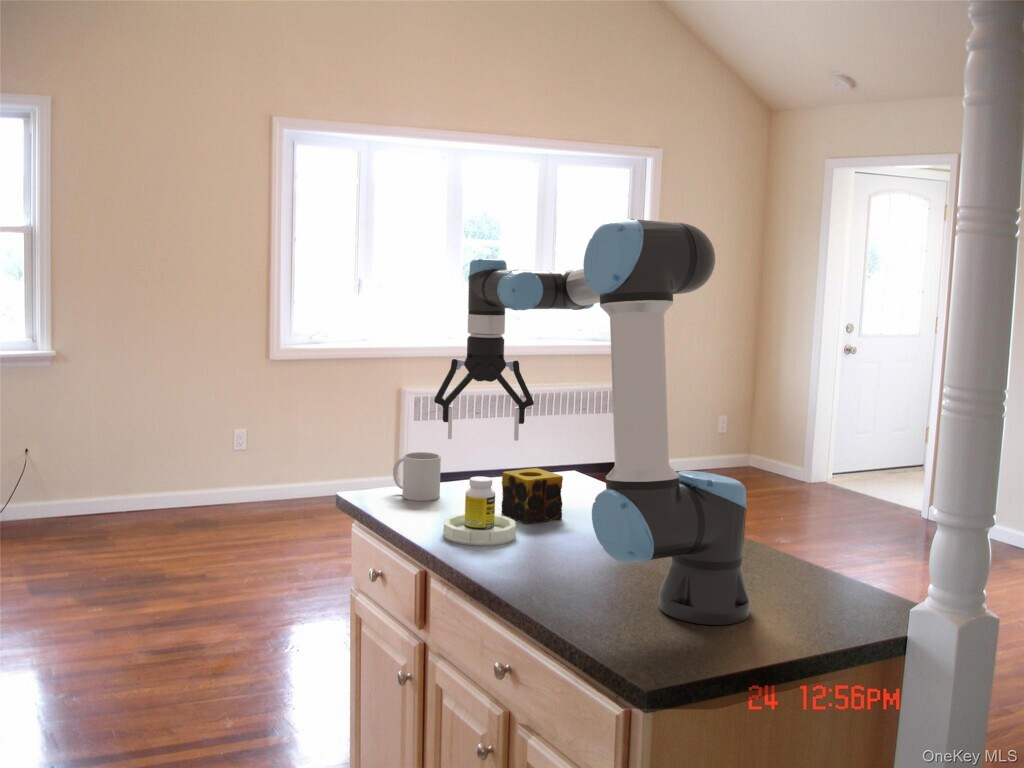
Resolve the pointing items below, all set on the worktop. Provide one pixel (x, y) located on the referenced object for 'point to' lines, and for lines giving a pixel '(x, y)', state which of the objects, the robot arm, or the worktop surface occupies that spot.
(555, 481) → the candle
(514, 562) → the worktop surface
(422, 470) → the mug
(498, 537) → the sage dish
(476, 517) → the pill bottle
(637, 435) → the robot arm
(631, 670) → the worktop surface
